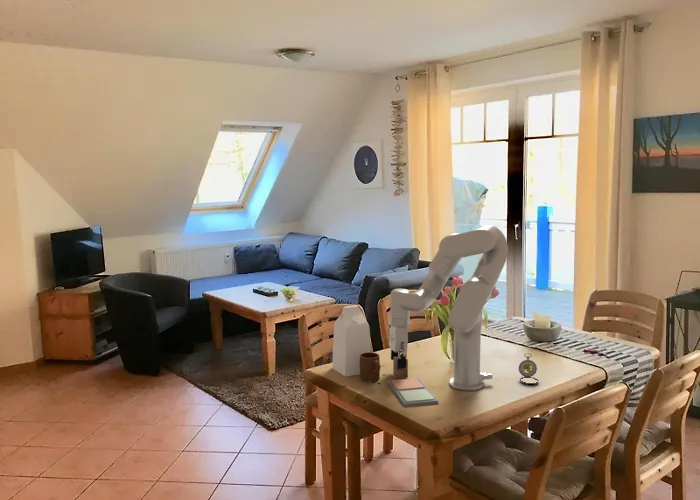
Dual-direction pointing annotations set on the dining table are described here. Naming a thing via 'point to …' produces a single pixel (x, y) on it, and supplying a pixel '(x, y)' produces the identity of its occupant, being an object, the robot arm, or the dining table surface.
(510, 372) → the dining table surface
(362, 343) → the milk
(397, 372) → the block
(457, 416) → the dining table surface
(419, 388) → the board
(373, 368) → the mug
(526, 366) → the pocket watch
